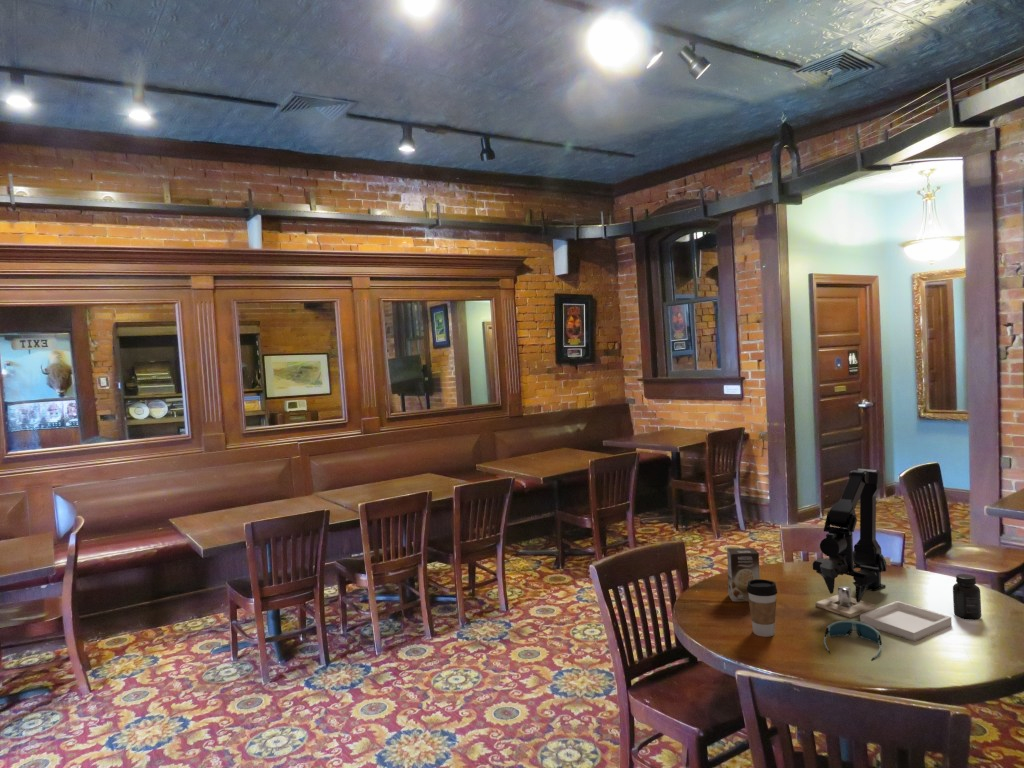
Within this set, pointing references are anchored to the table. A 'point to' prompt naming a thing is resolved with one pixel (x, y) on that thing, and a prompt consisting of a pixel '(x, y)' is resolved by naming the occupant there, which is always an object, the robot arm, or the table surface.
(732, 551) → the coffee box
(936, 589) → the table surface
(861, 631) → the sunglasses
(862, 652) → the table surface
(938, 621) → the tray
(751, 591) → the coffee cup
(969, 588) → the supplement bottle
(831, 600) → the socket block
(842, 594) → the steel pin
